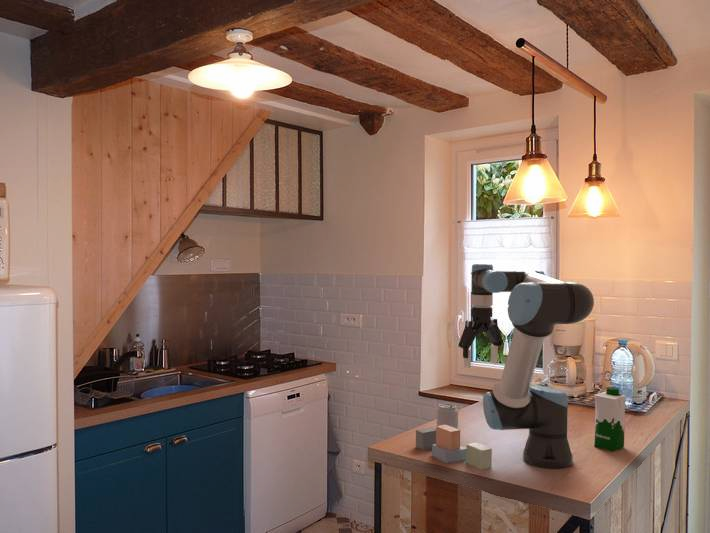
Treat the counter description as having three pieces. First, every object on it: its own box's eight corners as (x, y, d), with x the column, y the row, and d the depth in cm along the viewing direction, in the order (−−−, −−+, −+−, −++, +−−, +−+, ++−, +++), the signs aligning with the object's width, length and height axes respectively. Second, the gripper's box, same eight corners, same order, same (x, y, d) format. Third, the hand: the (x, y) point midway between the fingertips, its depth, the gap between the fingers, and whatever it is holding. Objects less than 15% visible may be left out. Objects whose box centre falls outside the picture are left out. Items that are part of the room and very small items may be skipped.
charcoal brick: (431, 444, 209) (432, 426, 209) (439, 447, 206) (439, 429, 206) (415, 447, 205) (415, 429, 205) (422, 450, 202) (423, 432, 202)
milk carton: (627, 447, 206) (628, 389, 206) (614, 453, 200) (615, 393, 200) (603, 441, 213) (604, 385, 212) (590, 446, 207) (590, 388, 206)
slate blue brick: (466, 461, 193) (466, 448, 193) (445, 464, 190) (445, 451, 190) (452, 453, 200) (453, 441, 200) (432, 456, 197) (432, 444, 197)
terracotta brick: (460, 448, 193) (460, 429, 193) (450, 450, 191) (451, 431, 191) (445, 442, 199) (445, 424, 199) (436, 444, 197) (436, 426, 197)
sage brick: (491, 467, 186) (491, 448, 186) (481, 469, 184) (482, 450, 184) (475, 460, 192) (476, 442, 192) (466, 463, 190) (466, 444, 190)
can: (457, 442, 211) (457, 408, 210) (435, 441, 212) (436, 407, 212) (458, 436, 218) (458, 403, 218) (437, 434, 220) (437, 402, 219)
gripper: (498, 303, 226) (497, 360, 227) (448, 307, 212) (448, 367, 213) (513, 305, 220) (512, 363, 221) (463, 309, 206) (463, 370, 207)
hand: (480, 365), depth 217 cm, fingers open, 13 cm apart
